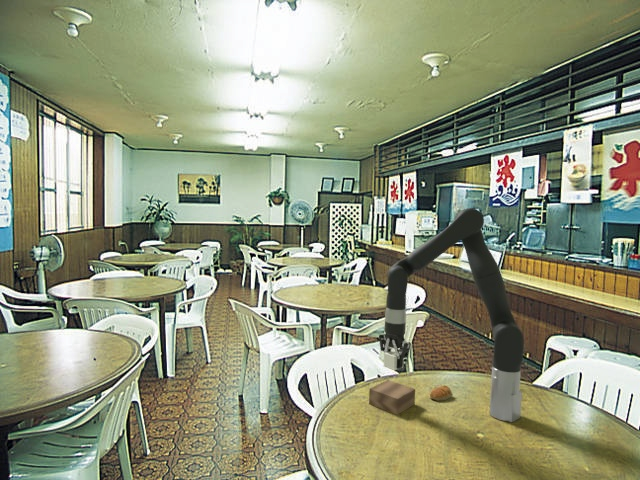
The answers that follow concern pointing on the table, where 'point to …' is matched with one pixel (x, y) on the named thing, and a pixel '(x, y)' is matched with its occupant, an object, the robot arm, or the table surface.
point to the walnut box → (392, 397)
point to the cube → (390, 360)
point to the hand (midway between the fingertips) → (393, 365)
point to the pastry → (441, 393)
